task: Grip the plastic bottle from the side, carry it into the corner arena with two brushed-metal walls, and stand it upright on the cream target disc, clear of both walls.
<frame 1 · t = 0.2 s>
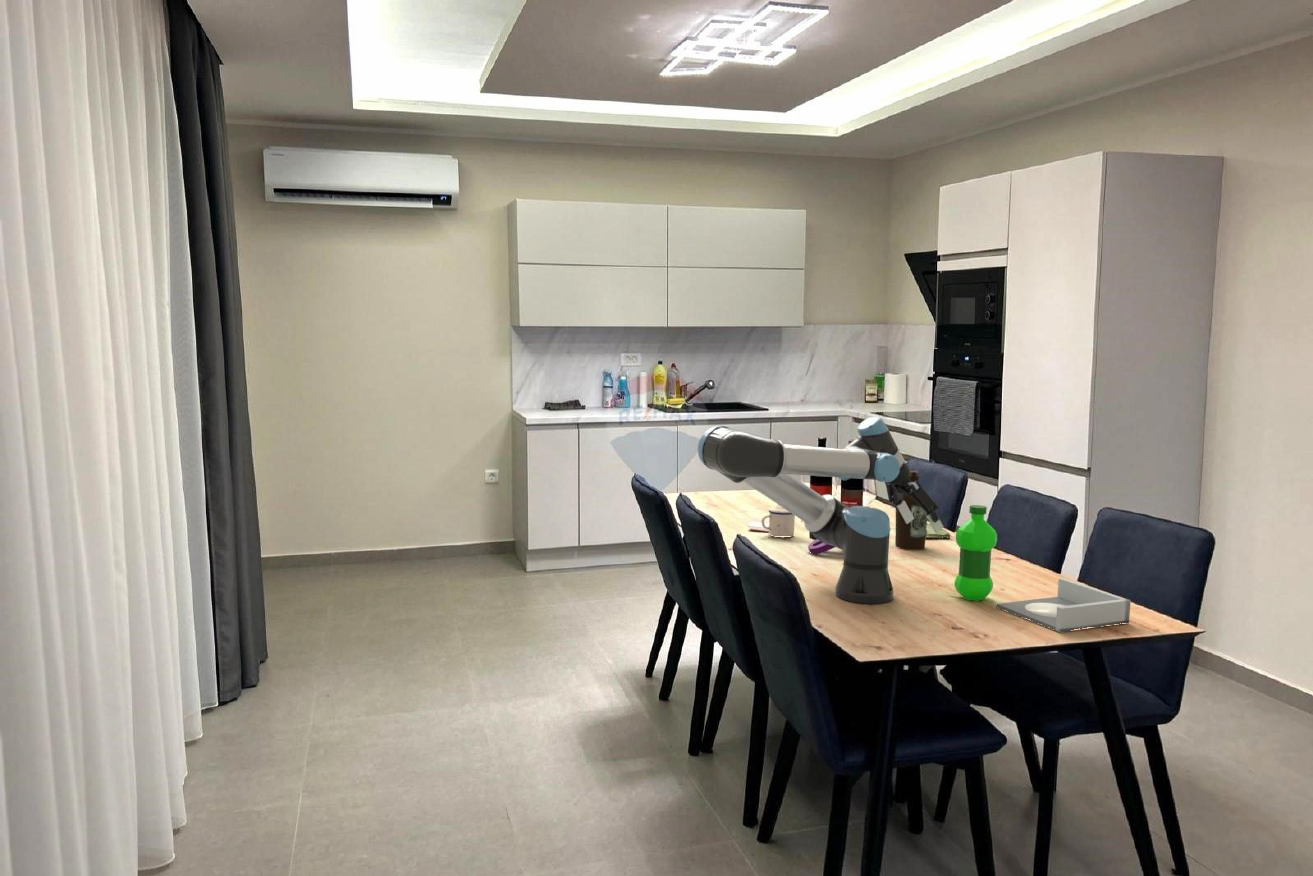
hand: (924, 525, 282), 15 cm above the table, tool tilted 35°, fingers open, 13 cm apart
plastic bottle: (972, 599, 261), on the table
teacup with lid: (777, 536, 334), on the table
corner arena: (1060, 615, 247), on the table
olive oil: (909, 547, 321), on the table
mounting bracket: (836, 554, 310), on the table
washcloth: (923, 535, 341), on the table
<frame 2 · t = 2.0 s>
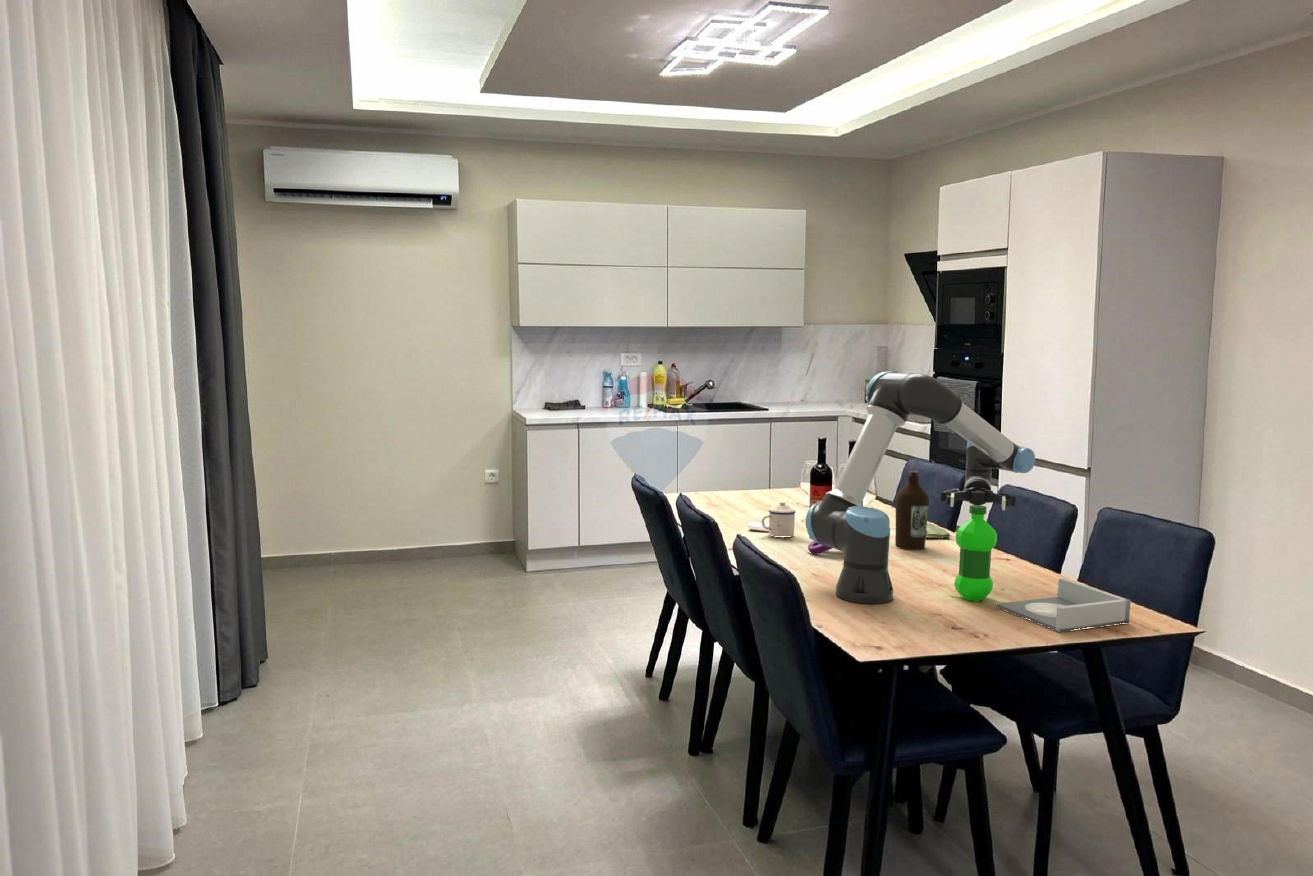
hand: (977, 503, 268), 24 cm above the table, tool horizontal, fingers open, 13 cm apart
nothing on the table moved.
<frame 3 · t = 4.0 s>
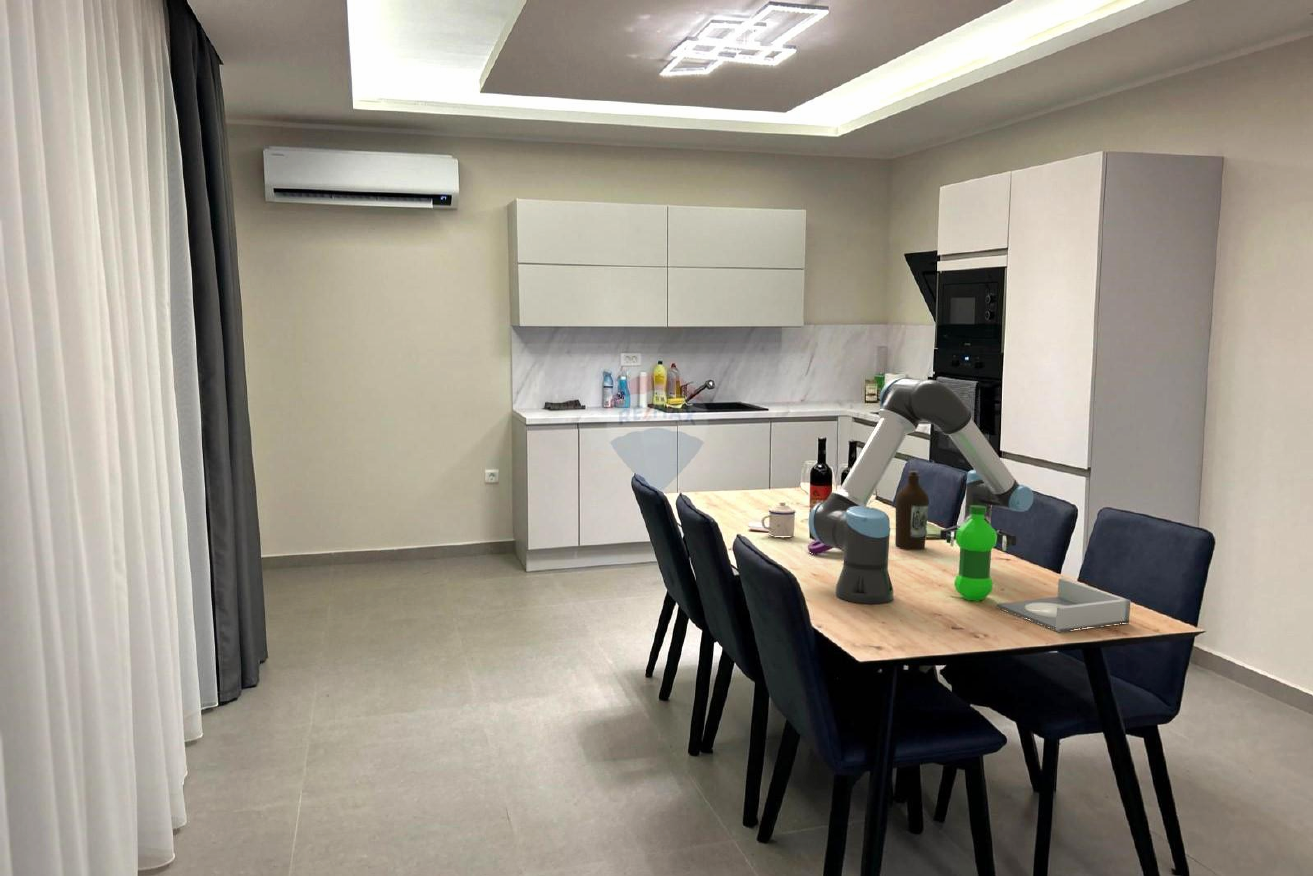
hand: (978, 543, 264), 14 cm above the table, tool horizontal, fingers open, 13 cm apart
nothing on the table moved.
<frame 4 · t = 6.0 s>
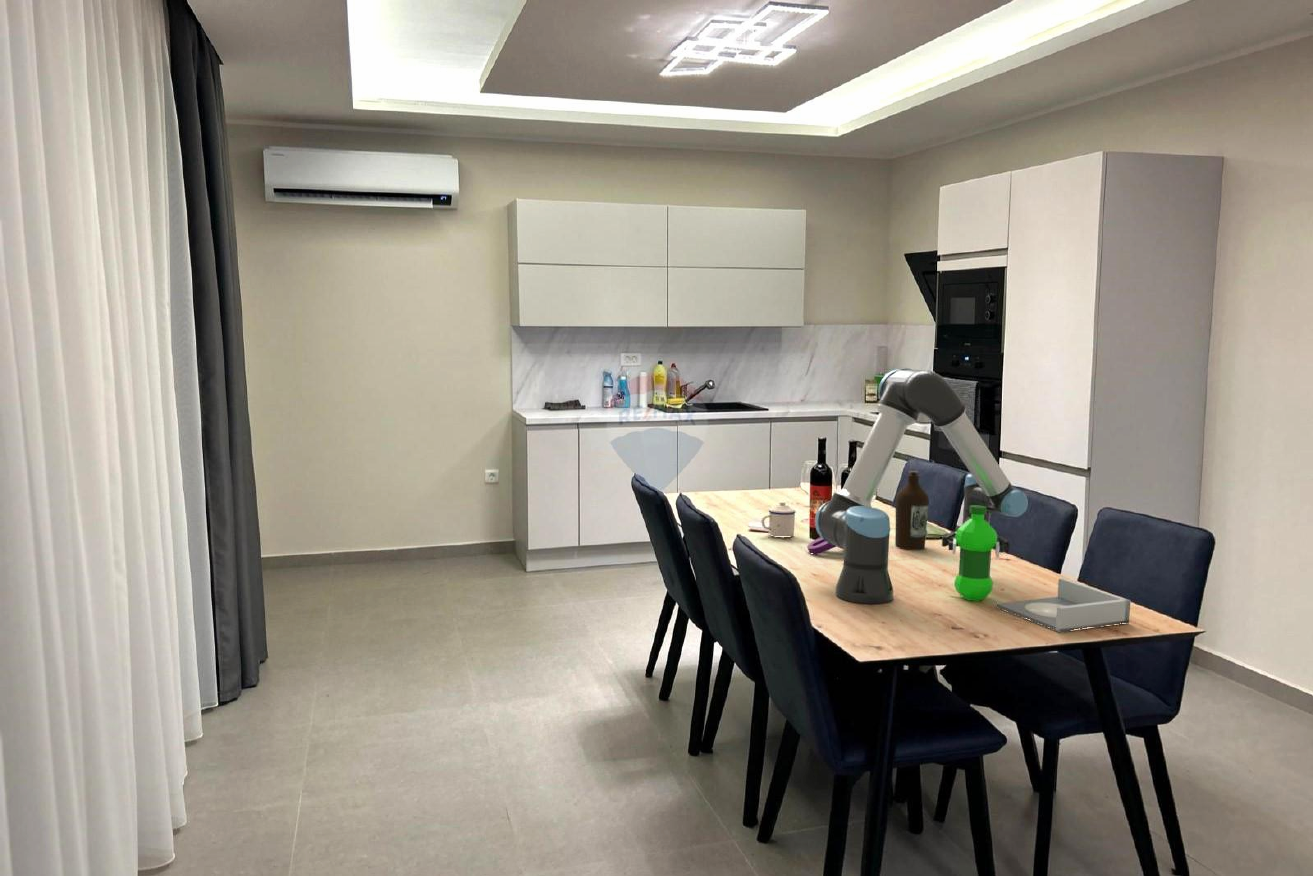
hand: (975, 550, 256), 14 cm above the table, tool horizontal, fingers closed on plastic bottle, 10 cm apart
plastic bottle: (972, 599, 261), on the table, touching gripper
everything else where it was.
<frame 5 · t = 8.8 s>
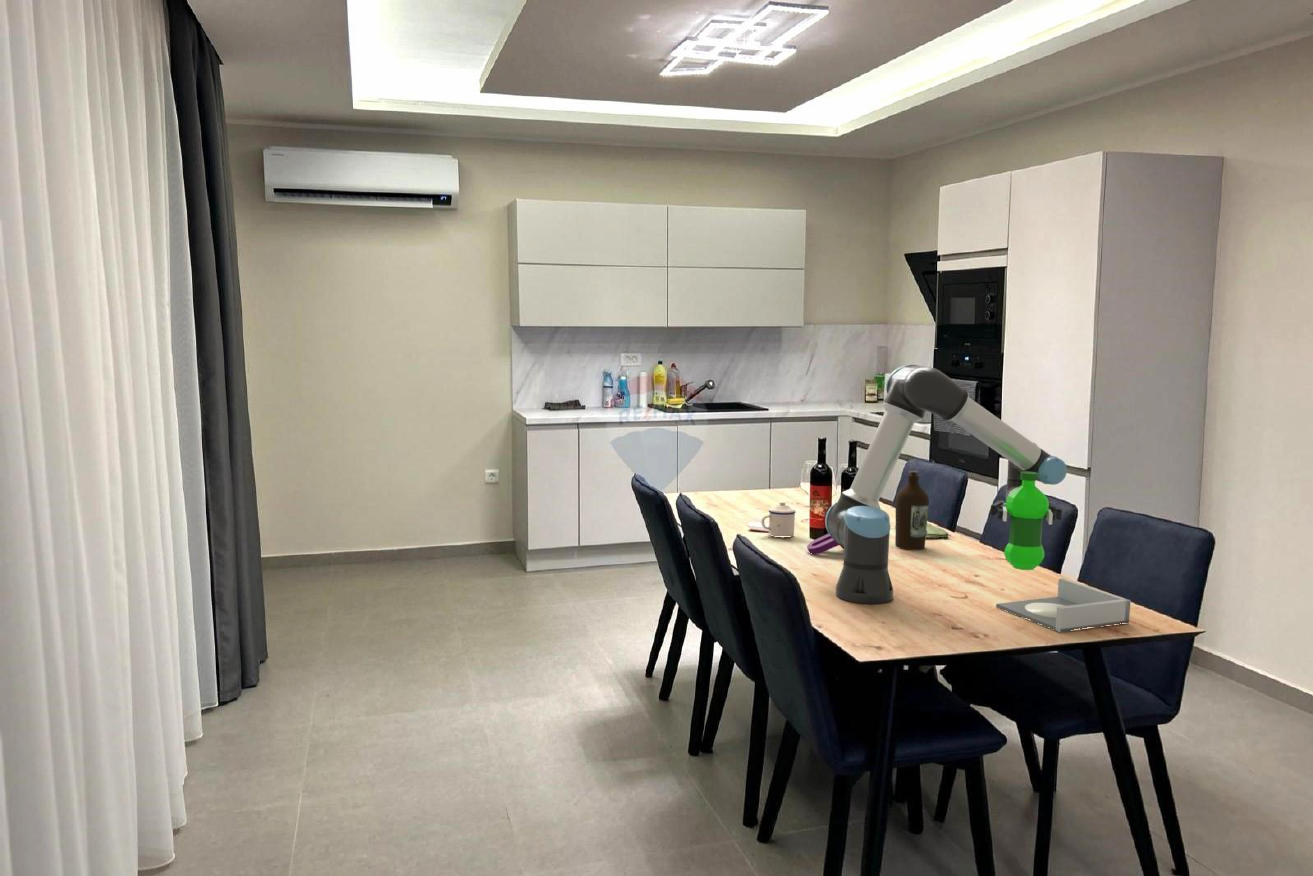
hand: (1027, 517, 248), 24 cm above the table, tool horizontal, fingers closed on plastic bottle, 10 cm apart
plastic bottle: (1023, 568, 253), point 10 cm above the table, touching gripper
everything else where it was.
when the fingers open (16 cm above the table, at t = 11.9 s): plastic bottle drops 1 cm, resting on corner arena.
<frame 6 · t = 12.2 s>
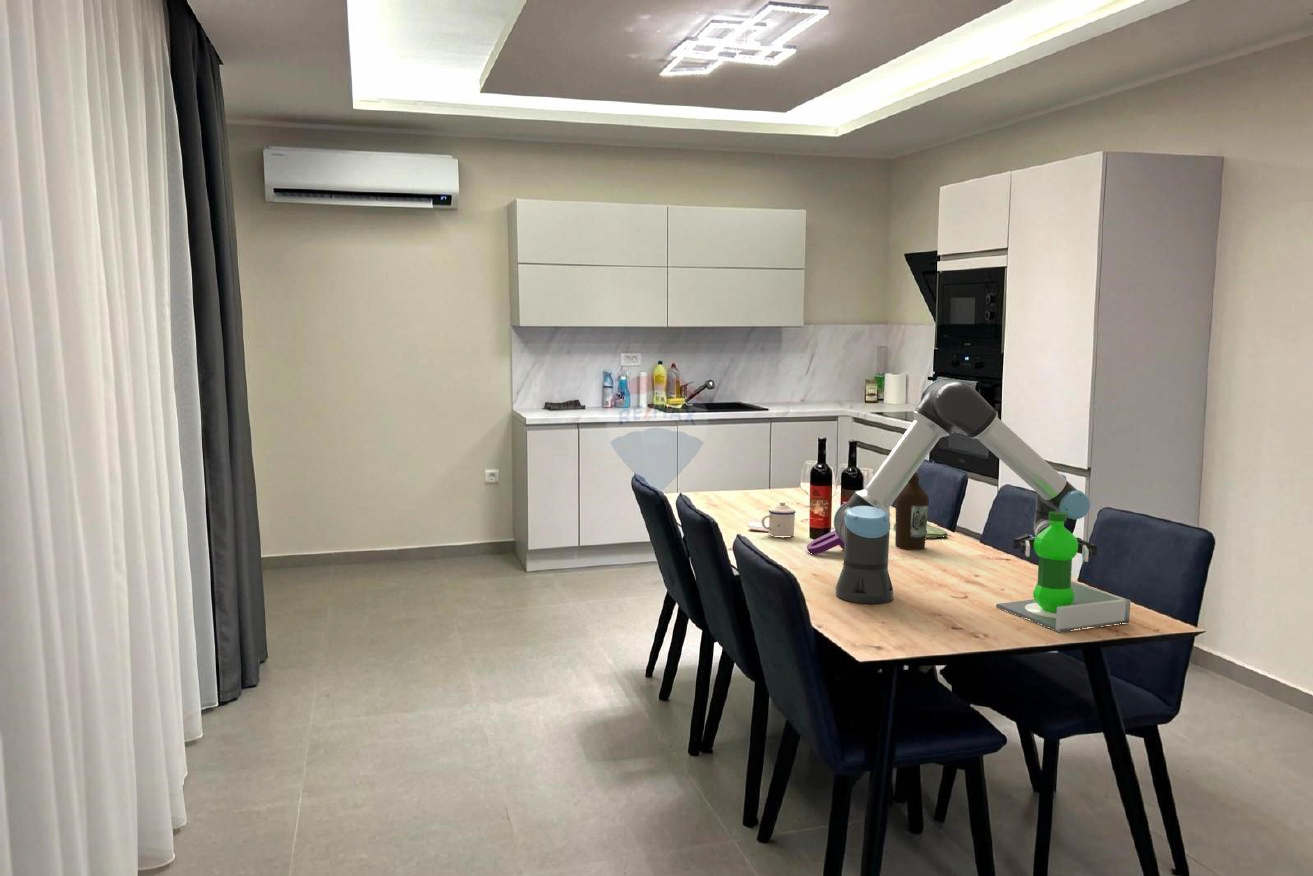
hand: (1057, 553, 243), 16 cm above the table, tool horizontal, fingers open, 13 cm apart
plastic bottle: (1052, 610, 248), point 1 cm above the table, touching corner arena
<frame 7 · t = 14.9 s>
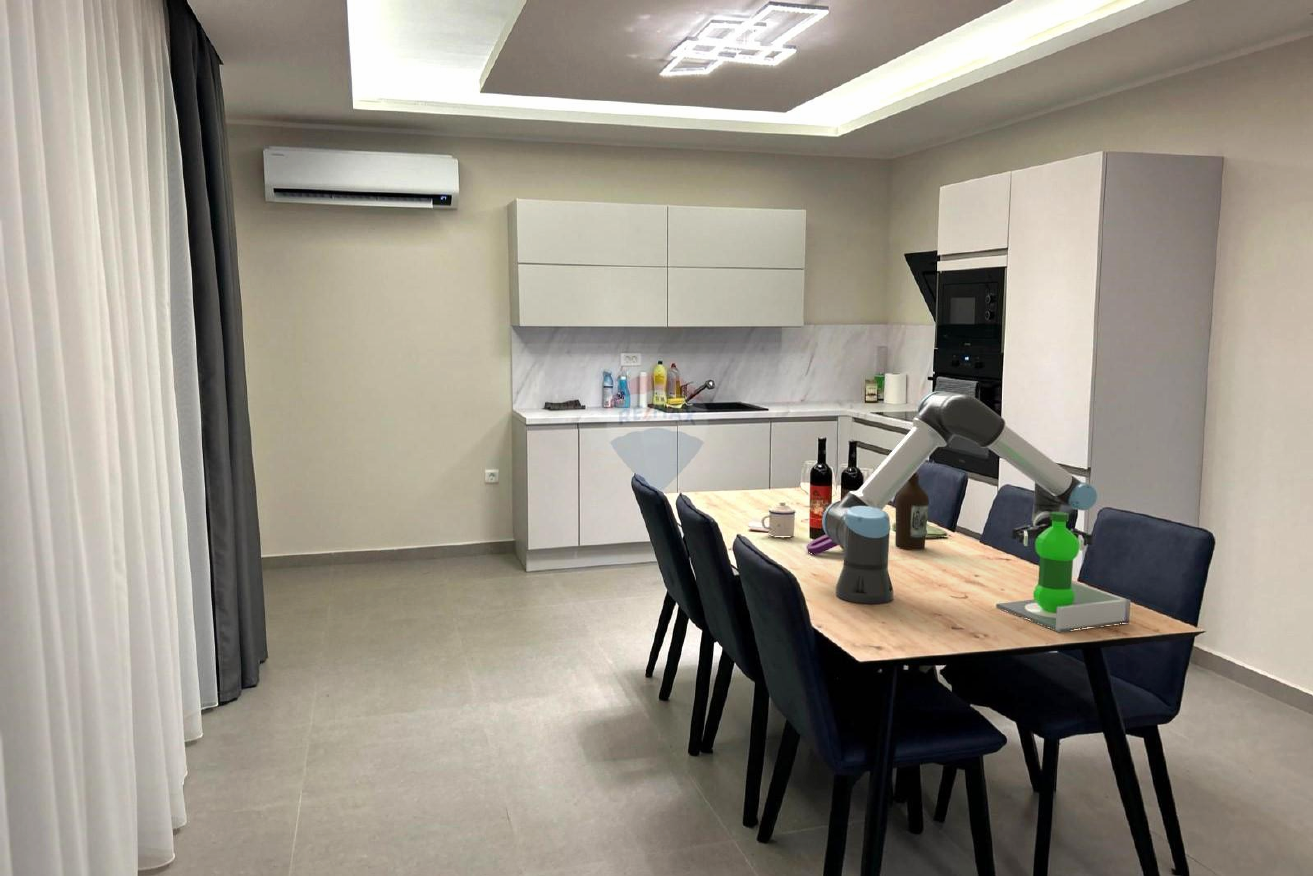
hand: (1053, 543, 254), 17 cm above the table, tool horizontal, fingers open, 13 cm apart
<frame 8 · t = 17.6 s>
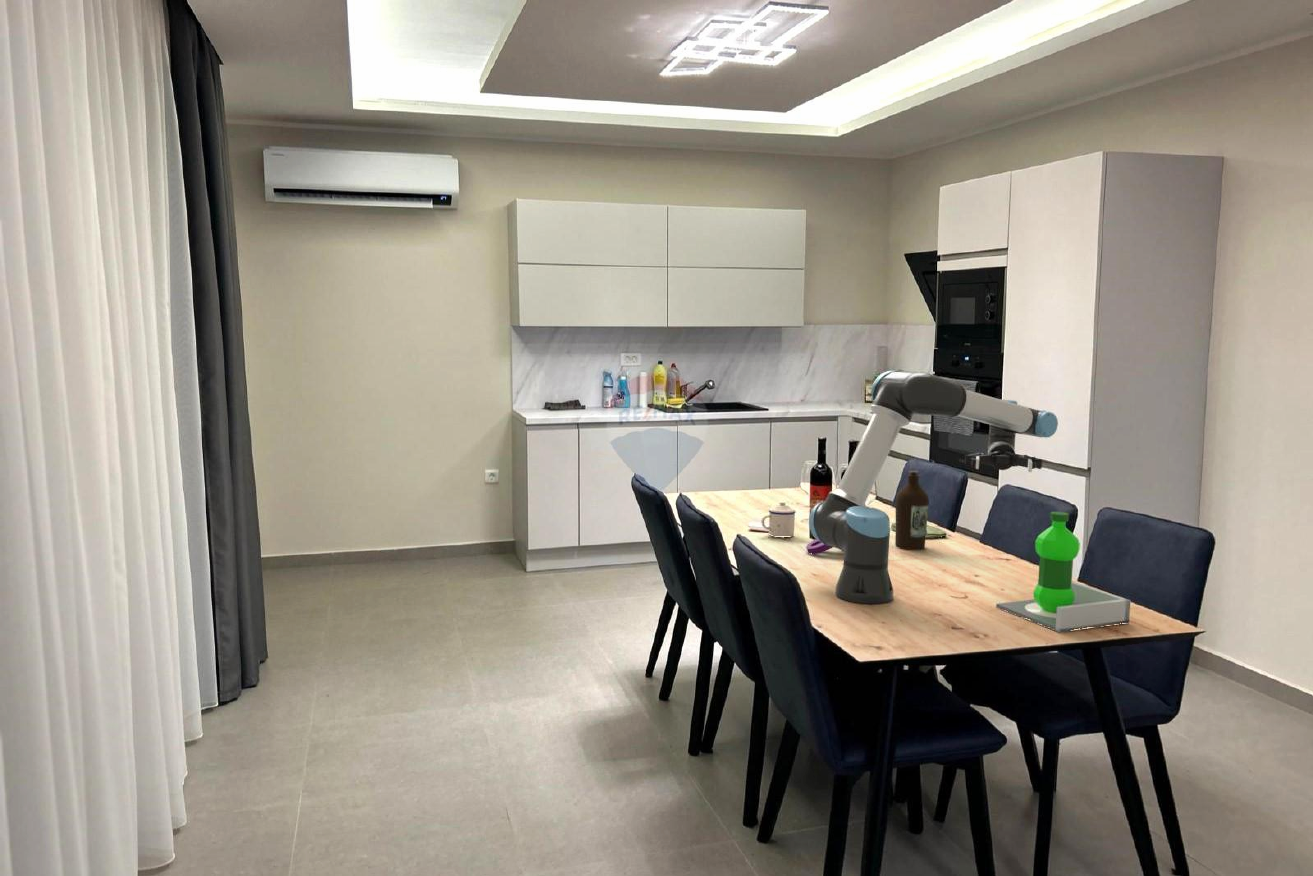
hand: (1003, 465, 265), 35 cm above the table, tool horizontal, fingers open, 13 cm apart
at the end: plastic bottle inside the target area on the corner arena (1.6 cm from its centre), point 1.0 cm above the corner arena's base; plastic bottle tilted 0°; the gripper is holding nothing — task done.
